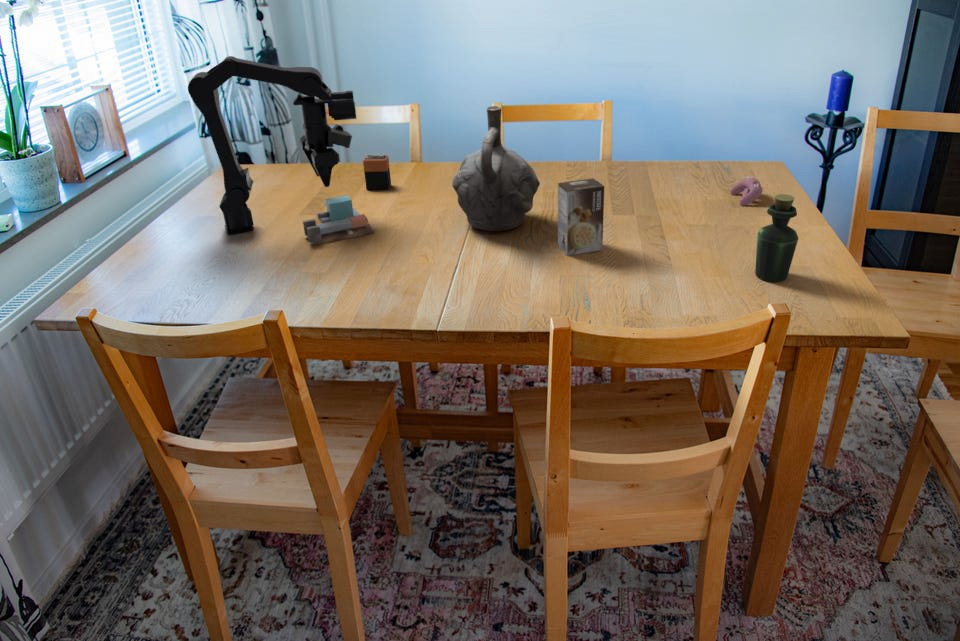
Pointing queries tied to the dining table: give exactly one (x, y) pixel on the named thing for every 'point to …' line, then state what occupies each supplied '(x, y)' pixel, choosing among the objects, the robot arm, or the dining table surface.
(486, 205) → the vessel
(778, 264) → the potion bottle
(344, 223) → the cutter lever
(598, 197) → the coffee box
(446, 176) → the dining table surface
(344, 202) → the plug
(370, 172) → the battery
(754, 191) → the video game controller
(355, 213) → the mat
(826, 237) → the dining table surface
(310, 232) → the base
